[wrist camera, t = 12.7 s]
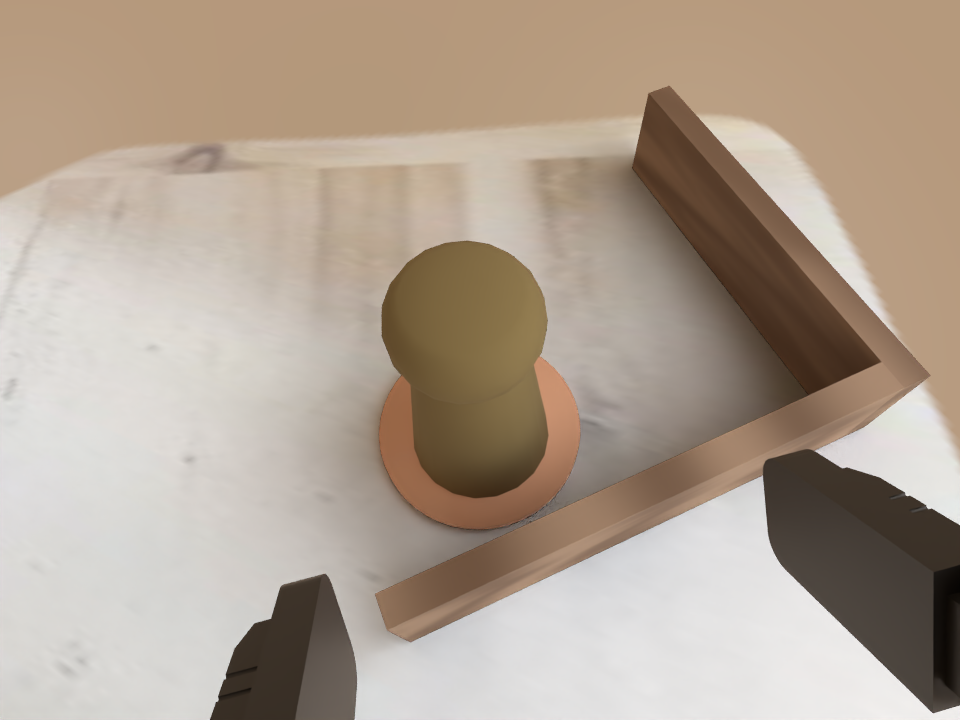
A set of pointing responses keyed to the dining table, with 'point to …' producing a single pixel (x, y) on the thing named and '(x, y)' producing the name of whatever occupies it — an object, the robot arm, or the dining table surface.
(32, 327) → the dining table surface
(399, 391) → the terracotta coaster
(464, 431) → the cork
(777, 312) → the walnut corner walls
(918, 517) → the robot arm
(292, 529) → the dining table surface
